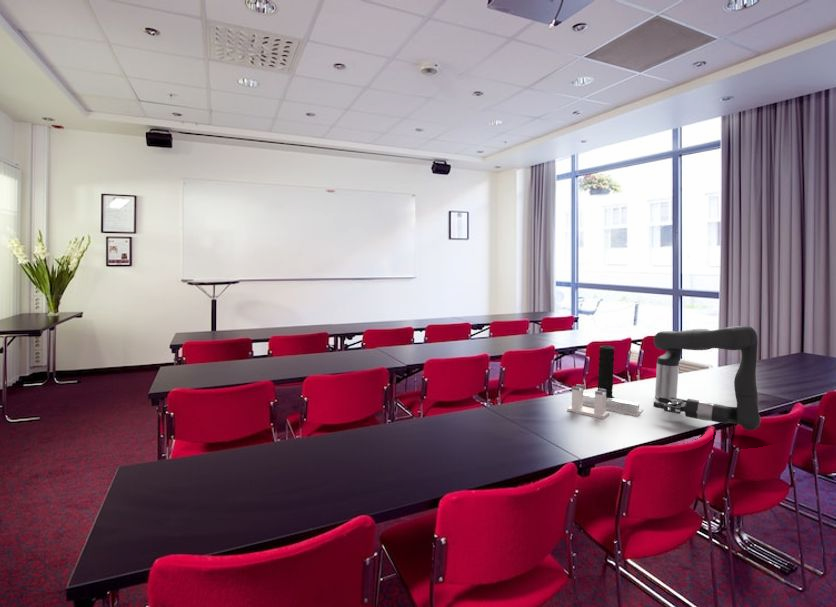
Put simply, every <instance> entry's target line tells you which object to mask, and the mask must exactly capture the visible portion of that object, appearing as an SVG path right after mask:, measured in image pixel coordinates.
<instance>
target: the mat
mask: <svg viewBox="0 0 836 607" xmlns="http://www.w3.org/2000/svg"><path fill="white" fill-rule="evenodd" d="M585 405H586V406H587V407H590V406H591V407H590V408H594V406H595V404H590V403H585V402H583V406H585ZM586 406H585V407H586ZM605 409H606V410H605V411H609V410H610V411H609V412H614V411H615V413H618V412H620V413H619V414H623V413H624V415H628V414H629V416H632V415H633V417H638V416H640V414H641V413H643V411H644V409H643V408H642V409H641V408H639V412H638V413H633V412H628V411H624V410H619V409H614V408H609V407H606V408H605Z"/></svg>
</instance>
